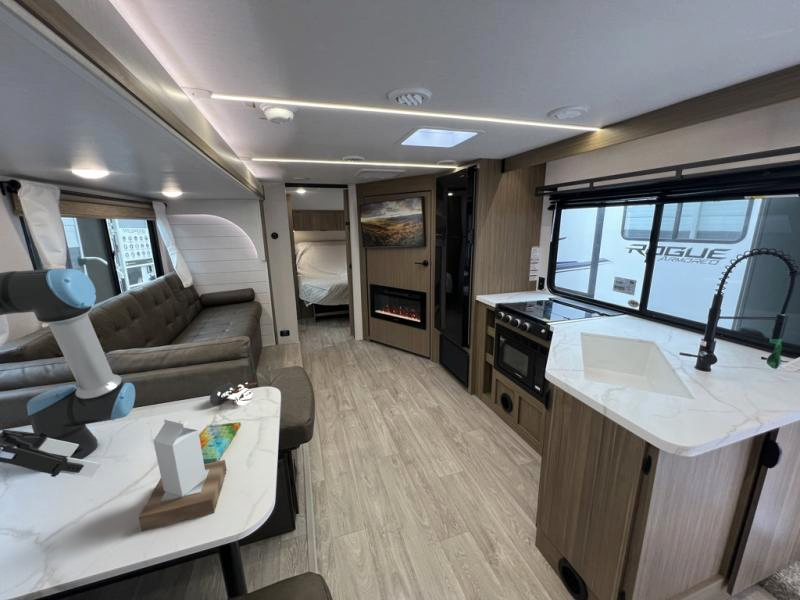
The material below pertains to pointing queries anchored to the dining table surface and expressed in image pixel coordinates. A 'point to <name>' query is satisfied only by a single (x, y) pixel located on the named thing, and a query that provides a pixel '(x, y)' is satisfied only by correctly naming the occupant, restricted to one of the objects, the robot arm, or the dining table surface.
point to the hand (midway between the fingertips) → (84, 459)
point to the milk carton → (179, 457)
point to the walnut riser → (184, 500)
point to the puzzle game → (217, 440)
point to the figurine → (231, 394)
